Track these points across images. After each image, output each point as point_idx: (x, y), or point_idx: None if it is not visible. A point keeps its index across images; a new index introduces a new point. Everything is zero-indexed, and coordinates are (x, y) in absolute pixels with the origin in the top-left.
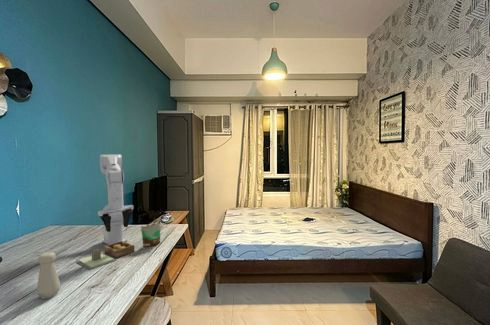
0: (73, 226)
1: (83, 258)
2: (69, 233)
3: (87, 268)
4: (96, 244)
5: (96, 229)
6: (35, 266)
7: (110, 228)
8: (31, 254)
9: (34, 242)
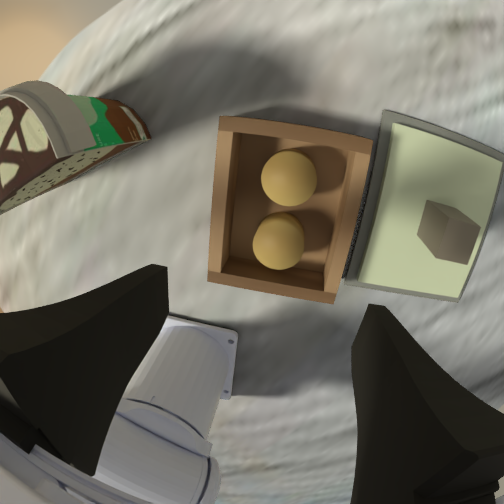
0: None
1: (441, 293)
2: (238, 486)
3: (499, 179)
4: (260, 395)
5: None
6: (487, 379)
7: (381, 319)
8: None
9: (326, 494)
